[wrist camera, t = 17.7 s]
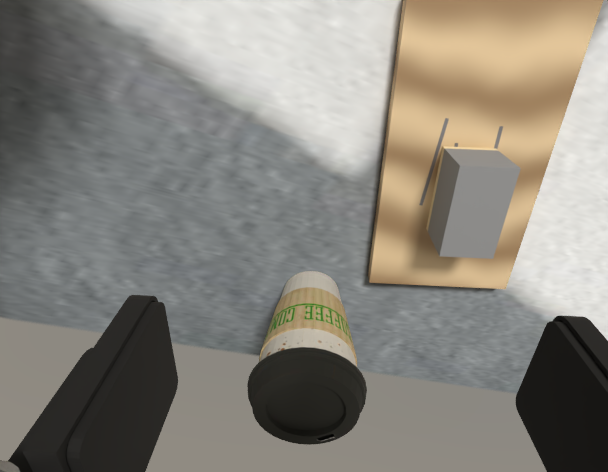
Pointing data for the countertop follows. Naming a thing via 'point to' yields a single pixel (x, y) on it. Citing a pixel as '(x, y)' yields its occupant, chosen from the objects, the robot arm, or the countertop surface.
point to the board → (472, 121)
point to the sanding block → (470, 201)
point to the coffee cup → (308, 366)
